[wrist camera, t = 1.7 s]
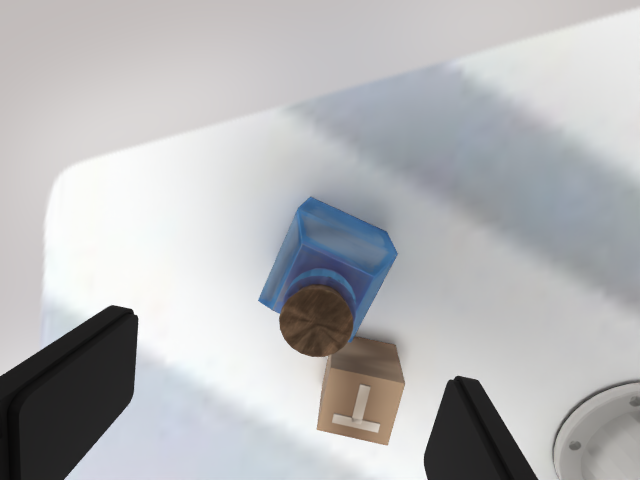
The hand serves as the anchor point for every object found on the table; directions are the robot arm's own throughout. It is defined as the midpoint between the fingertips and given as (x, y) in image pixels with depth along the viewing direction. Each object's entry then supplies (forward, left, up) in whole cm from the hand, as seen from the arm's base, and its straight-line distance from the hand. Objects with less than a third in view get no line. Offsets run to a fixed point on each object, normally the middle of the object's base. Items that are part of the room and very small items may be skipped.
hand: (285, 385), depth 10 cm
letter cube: (-5, +9, -17) cm, 20 cm away
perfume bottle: (-1, 0, -17) cm, 17 cm away
